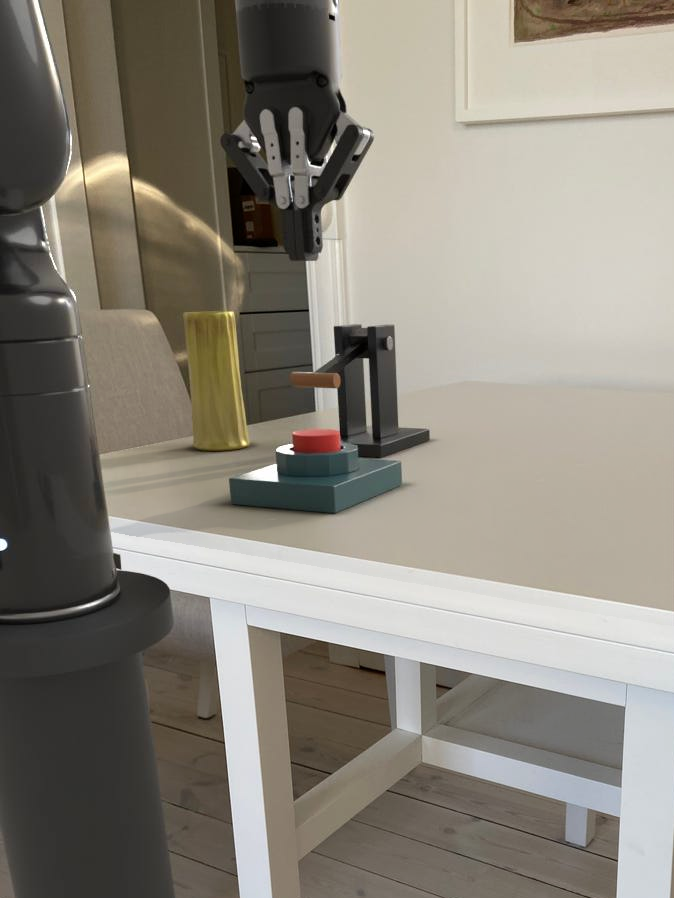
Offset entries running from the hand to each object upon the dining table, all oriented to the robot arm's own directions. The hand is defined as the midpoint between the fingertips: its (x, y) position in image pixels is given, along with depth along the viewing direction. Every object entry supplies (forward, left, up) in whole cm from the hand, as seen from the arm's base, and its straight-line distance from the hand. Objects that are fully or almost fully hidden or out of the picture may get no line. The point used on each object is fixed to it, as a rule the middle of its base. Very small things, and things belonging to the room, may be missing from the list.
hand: (304, 260), depth 80 cm
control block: (0, 0, -19) cm, 19 cm away
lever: (+10, +18, -10) cm, 23 cm away
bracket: (+14, +21, -19) cm, 32 cm away
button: (0, 0, -15) cm, 15 cm away
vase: (0, +30, -19) cm, 36 cm away
